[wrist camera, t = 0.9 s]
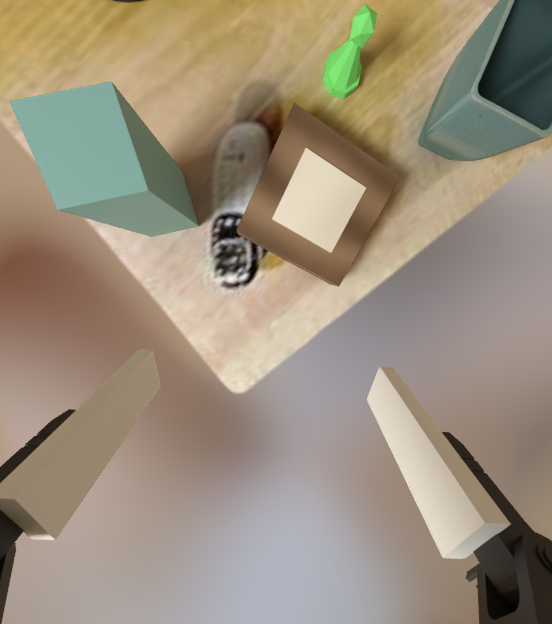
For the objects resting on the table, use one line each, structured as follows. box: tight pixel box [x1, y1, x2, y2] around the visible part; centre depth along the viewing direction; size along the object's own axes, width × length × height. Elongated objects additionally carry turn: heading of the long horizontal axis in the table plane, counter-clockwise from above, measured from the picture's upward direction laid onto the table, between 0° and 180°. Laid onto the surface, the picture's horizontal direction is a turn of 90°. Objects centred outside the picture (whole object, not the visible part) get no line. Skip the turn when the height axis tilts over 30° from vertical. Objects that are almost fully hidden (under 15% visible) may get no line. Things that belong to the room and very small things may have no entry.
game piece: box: [323, 4, 377, 99], centre depth 20 cm, size 4×4×6 cm
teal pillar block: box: [9, 82, 199, 237], centre depth 18 cm, size 6×6×12 cm
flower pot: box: [418, 0, 552, 161], centre depth 21 cm, size 9×9×9 cm
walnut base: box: [237, 103, 400, 286], centre depth 24 cm, size 14×14×3 cm
